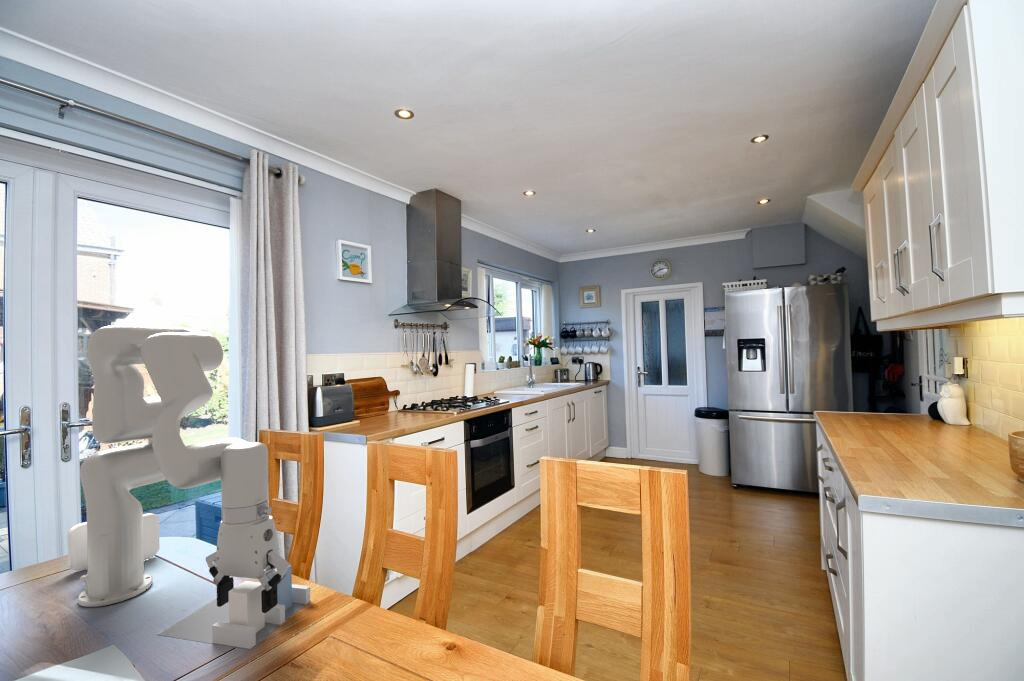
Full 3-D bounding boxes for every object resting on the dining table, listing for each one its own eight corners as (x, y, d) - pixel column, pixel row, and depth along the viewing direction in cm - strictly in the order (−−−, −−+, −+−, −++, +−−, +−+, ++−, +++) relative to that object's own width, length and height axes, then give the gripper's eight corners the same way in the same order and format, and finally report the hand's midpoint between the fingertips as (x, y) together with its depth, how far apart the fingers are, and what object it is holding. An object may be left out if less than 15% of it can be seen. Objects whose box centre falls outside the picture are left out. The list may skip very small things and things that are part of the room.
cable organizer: (88, 583, 110) (87, 532, 110) (66, 574, 114) (66, 525, 115) (160, 556, 123) (159, 511, 123) (138, 549, 128) (137, 506, 128)
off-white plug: (246, 623, 89) (246, 580, 89) (264, 626, 88) (264, 582, 88) (229, 636, 85) (228, 591, 85) (247, 639, 84) (247, 593, 84)
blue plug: (260, 614, 92) (259, 572, 92) (275, 603, 96) (274, 563, 96) (277, 616, 91) (277, 574, 91) (292, 605, 95) (291, 565, 95)
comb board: (157, 643, 86) (157, 618, 86) (230, 597, 102) (229, 576, 102) (249, 658, 81) (249, 631, 81) (311, 607, 97) (310, 585, 97)
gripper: (300, 507, 88) (301, 600, 88) (224, 502, 93) (225, 590, 92) (270, 522, 81) (272, 623, 81) (189, 515, 85) (190, 611, 85)
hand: (247, 605), depth 87 cm, fingers open, 9 cm apart
